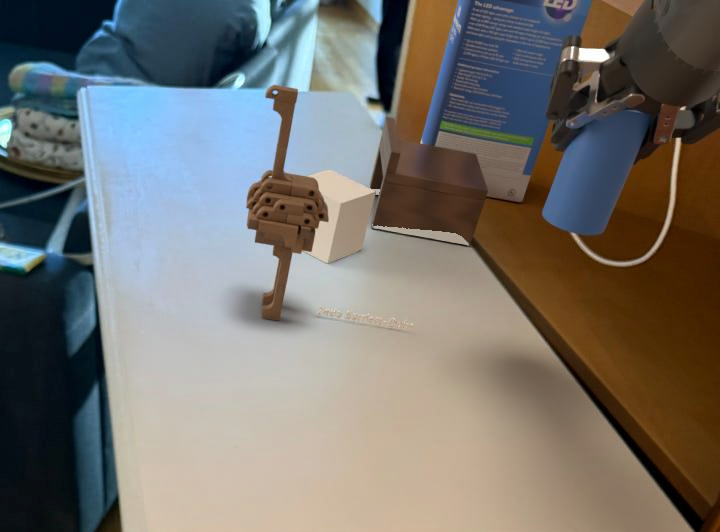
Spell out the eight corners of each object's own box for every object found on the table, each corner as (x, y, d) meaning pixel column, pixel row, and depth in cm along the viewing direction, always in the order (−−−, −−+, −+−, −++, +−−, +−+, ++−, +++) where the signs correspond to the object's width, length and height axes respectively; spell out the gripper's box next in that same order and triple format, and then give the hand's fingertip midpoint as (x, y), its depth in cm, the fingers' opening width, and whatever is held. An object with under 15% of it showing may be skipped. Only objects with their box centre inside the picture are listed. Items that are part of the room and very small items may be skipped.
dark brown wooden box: (459, 207, 110) (482, 134, 104) (469, 247, 102) (494, 170, 96) (368, 190, 109) (386, 116, 103) (371, 229, 101) (391, 151, 96)
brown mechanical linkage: (229, 321, 82) (263, 97, 69) (232, 287, 87) (265, 71, 74) (415, 351, 84) (482, 137, 71) (408, 316, 88) (470, 109, 75)
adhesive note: (316, 228, 99) (329, 169, 95) (361, 250, 97) (376, 191, 93) (281, 240, 96) (293, 179, 91) (327, 264, 93) (341, 203, 89)
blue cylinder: (597, 214, 78) (647, 94, 71) (610, 240, 74) (664, 116, 68) (536, 203, 77) (581, 81, 71) (547, 229, 74) (596, 103, 67)
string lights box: (513, 182, 119) (600, -66, 100) (522, 205, 113) (615, -52, 95) (412, 163, 118) (481, -91, 99) (416, 185, 112) (489, -78, 94)
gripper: (839, -35, 57) (688, 114, 74) (613, -80, 56) (513, 82, 73) (820, 88, 57) (674, 209, 74) (594, 45, 56) (499, 177, 73)
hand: (594, 145), depth 73 cm, fingers closed on blue cylinder, 5 cm apart
